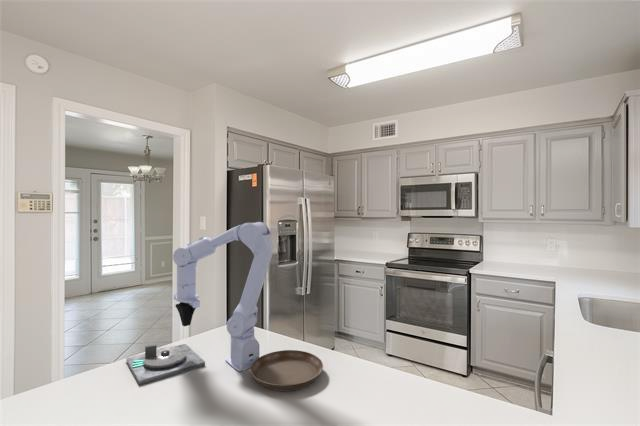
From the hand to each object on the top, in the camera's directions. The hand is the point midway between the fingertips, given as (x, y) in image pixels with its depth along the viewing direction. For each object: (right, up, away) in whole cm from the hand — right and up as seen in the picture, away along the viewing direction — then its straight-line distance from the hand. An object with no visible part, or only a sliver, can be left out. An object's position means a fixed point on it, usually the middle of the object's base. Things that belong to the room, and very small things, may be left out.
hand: (186, 325), depth 109 cm
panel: (-4, -10, -6) cm, 12 cm away
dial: (-4, -9, -6) cm, 11 cm away
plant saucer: (+34, -11, -13) cm, 38 cm away
